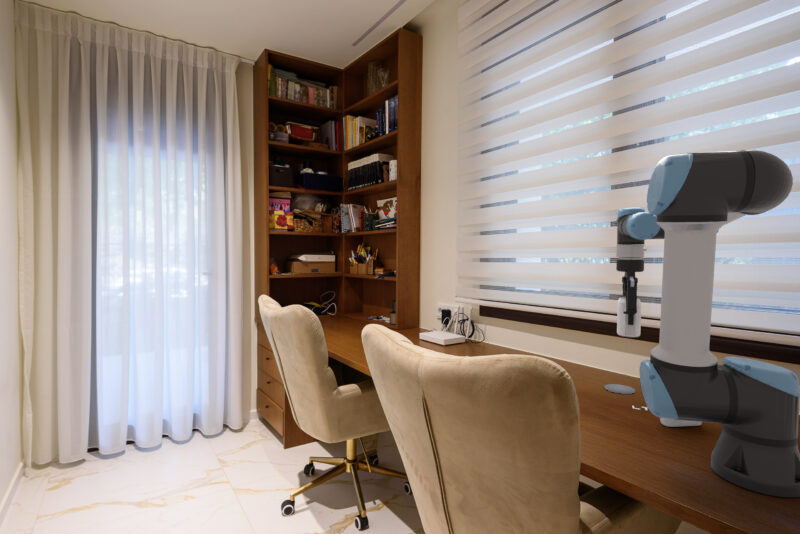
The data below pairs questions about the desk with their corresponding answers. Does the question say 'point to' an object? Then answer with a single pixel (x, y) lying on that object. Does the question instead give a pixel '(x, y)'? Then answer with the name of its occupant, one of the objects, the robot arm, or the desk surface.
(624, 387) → the felt coaster
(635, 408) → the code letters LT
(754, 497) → the desk surface
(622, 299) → the can
